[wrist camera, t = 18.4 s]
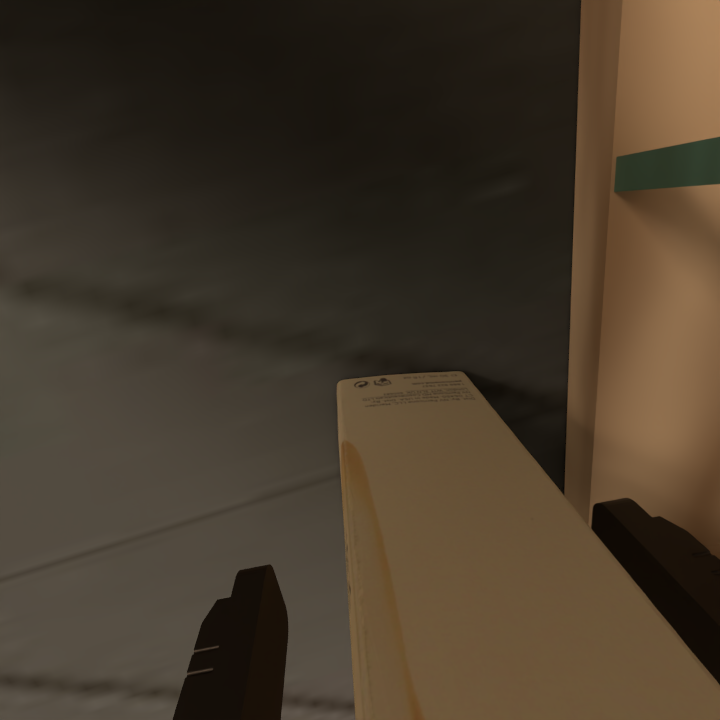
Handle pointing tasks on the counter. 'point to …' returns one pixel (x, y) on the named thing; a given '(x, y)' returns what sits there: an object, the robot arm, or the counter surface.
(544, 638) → the skincare box
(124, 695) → the counter surface
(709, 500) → the pipe rig
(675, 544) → the robot arm
